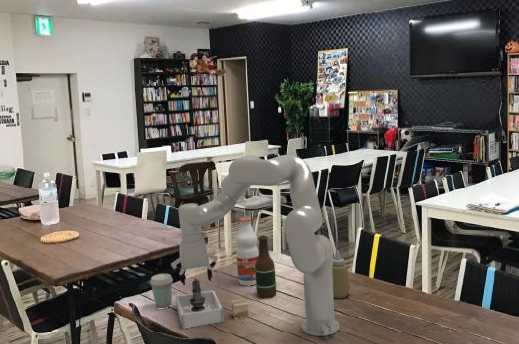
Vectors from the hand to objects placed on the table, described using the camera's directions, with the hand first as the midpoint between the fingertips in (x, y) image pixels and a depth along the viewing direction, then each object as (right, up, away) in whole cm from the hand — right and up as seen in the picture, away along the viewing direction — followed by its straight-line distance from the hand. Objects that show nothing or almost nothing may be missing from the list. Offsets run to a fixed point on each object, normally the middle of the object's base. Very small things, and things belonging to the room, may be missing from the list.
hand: (196, 281), depth 199 cm
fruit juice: (+19, -6, +28) cm, 34 cm away
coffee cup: (-14, -11, +8) cm, 19 cm away
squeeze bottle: (+54, -7, +7) cm, 55 cm away
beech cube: (+16, -11, -5) cm, 20 cm away
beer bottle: (+26, -8, +12) cm, 30 cm away
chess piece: (0, -11, +2) cm, 11 cm away
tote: (+1, -12, -3) cm, 12 cm away
